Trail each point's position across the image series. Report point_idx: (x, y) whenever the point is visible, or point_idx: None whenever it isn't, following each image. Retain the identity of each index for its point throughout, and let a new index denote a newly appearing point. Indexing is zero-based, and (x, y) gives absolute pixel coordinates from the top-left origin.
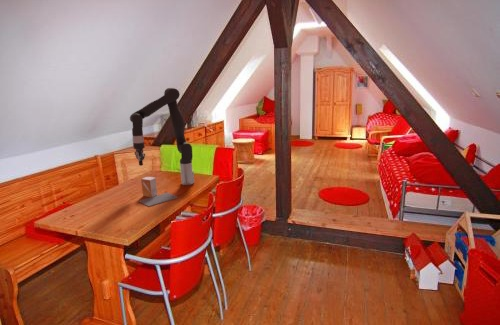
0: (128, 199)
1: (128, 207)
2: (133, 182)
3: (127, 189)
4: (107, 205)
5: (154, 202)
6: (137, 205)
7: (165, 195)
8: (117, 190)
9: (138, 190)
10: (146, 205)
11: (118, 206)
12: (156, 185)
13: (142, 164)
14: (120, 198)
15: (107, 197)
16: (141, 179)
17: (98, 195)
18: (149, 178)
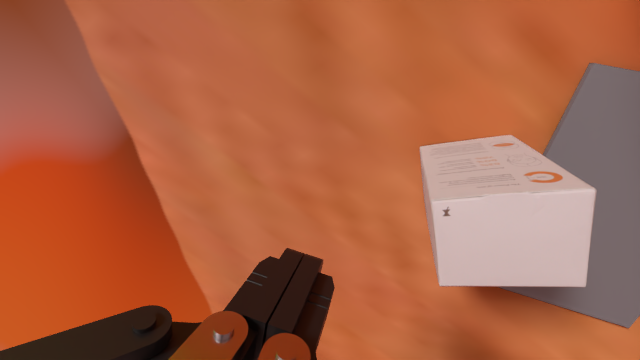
0: (385, 273)
1: (492, 353)
2: (117, 35)
3: (222, 157)
4: (360, 357)
5: (629, 273)
6: (522, 323)
7: (623, 130)
8: (196, 196)
9: (297, 137)
10: (592, 314)
11: (424, 355)
12: (546, 158)
13: (331, 282)
14: None
15: None
16: (442, 283)
17: (198, 281)
18: (530, 247)
